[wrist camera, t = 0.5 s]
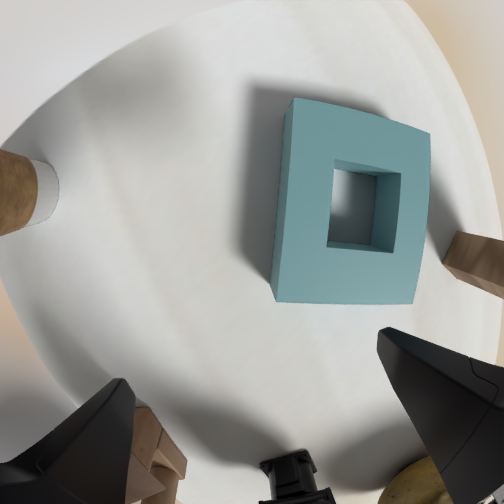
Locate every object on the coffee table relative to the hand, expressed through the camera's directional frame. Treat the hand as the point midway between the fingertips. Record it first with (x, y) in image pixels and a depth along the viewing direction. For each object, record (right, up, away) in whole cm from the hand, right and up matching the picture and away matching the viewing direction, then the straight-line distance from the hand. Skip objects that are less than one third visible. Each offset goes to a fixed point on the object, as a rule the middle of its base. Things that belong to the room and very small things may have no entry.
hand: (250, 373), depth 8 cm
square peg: (+22, +4, +15) cm, 27 cm away
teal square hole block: (+8, +8, +13) cm, 17 cm away
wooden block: (-11, -18, +17) cm, 27 cm away
